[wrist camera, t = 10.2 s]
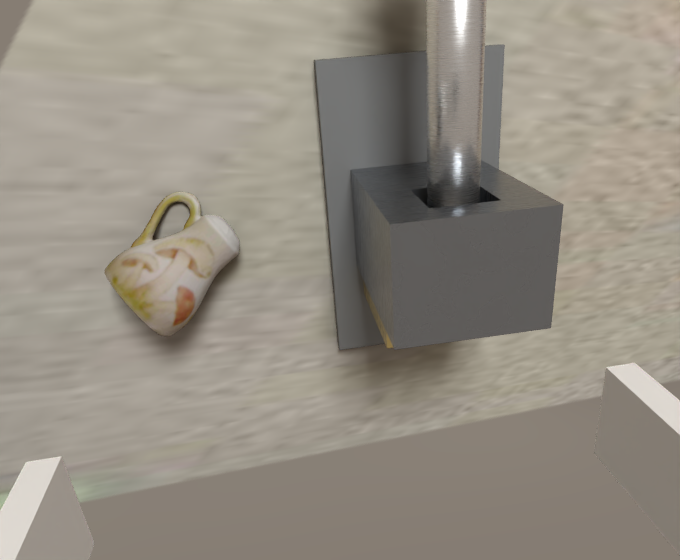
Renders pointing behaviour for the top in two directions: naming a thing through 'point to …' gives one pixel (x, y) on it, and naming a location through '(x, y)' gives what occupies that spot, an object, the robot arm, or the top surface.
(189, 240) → the mug
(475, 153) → the shaft
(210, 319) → the top surface
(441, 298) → the bearing block
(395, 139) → the mat
